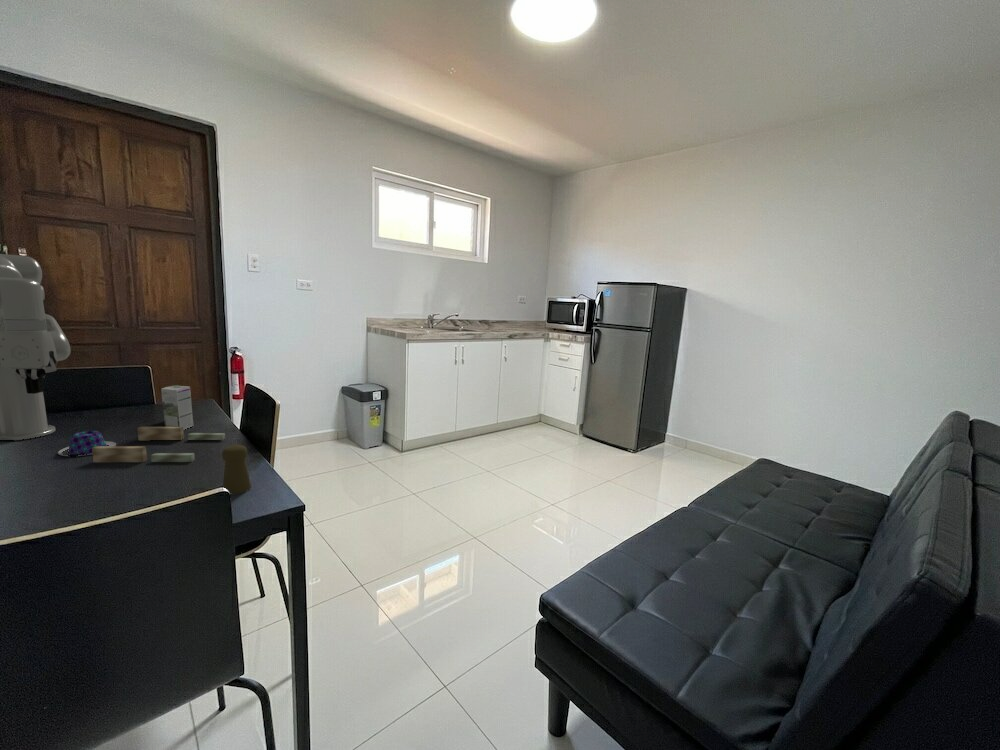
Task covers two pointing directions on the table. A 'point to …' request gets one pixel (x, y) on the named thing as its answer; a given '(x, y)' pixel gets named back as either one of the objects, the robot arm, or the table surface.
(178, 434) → the channel
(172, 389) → the syrup box
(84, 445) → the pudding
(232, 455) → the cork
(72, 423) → the table surface
